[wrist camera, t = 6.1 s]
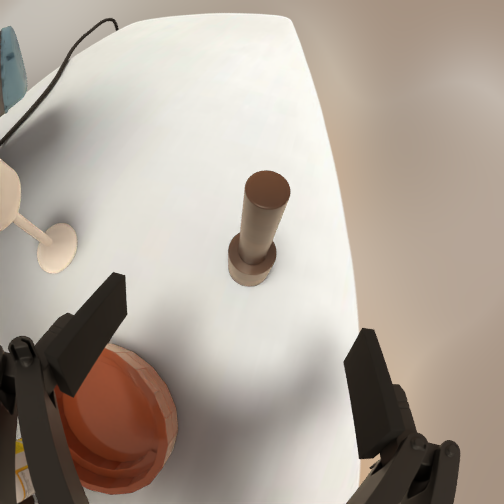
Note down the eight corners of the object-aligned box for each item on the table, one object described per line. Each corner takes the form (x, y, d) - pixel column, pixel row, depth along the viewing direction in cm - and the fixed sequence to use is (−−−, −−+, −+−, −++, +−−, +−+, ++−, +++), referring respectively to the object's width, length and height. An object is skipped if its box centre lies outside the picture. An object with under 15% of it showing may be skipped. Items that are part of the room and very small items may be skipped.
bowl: (50, 338, 26) (20, 333, 21) (173, 345, 28) (160, 345, 22) (63, 459, 21) (38, 473, 16) (185, 479, 23) (177, 504, 17)
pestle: (227, 247, 32) (228, 157, 17) (267, 246, 32) (300, 158, 17) (229, 287, 30) (229, 225, 15) (270, 285, 31) (311, 223, 16)
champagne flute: (86, 234, 31) (-38, 96, 8) (60, 283, 29) (-95, 185, 6) (53, 215, 31) (-56, 94, 9) (29, 259, 29) (-101, 164, 6)
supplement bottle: (15, 448, 20) (-45, 466, 8) (34, 427, 22) (-33, 444, 10) (47, 487, 19) (-7, 519, 7) (68, 469, 21) (10, 504, 9)
